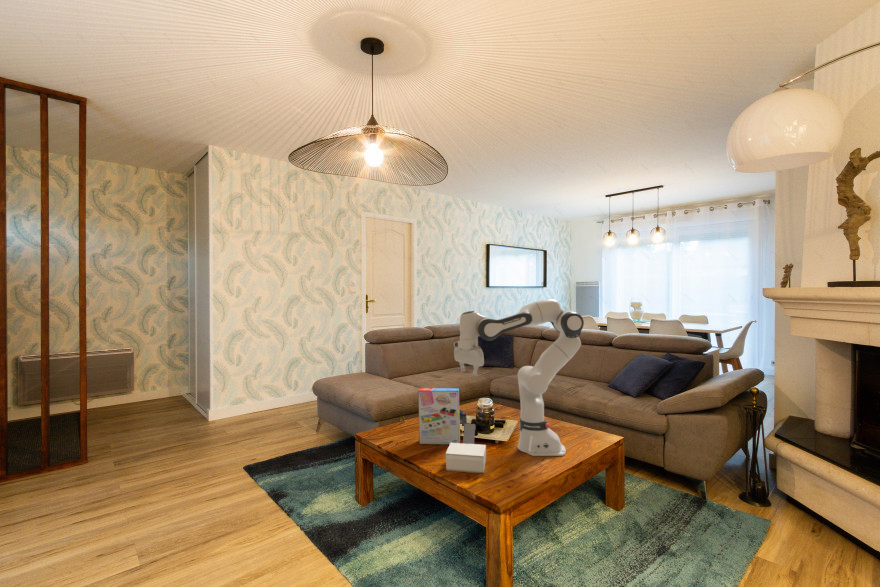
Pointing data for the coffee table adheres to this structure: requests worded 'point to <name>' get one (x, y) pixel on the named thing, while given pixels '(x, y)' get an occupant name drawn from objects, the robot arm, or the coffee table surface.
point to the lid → (466, 447)
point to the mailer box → (466, 465)
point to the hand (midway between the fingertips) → (468, 373)
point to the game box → (439, 415)
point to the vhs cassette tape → (462, 417)
